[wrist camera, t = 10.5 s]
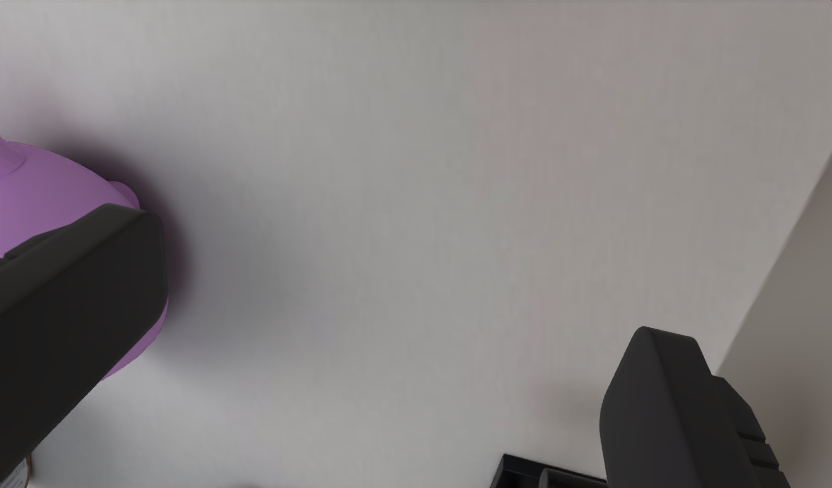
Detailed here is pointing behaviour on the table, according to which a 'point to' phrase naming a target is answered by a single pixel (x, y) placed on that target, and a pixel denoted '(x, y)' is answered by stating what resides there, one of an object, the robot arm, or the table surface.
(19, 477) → the tin
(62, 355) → the robot arm
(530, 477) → the bracket
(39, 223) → the teapot
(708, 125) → the table surface
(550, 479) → the lever
